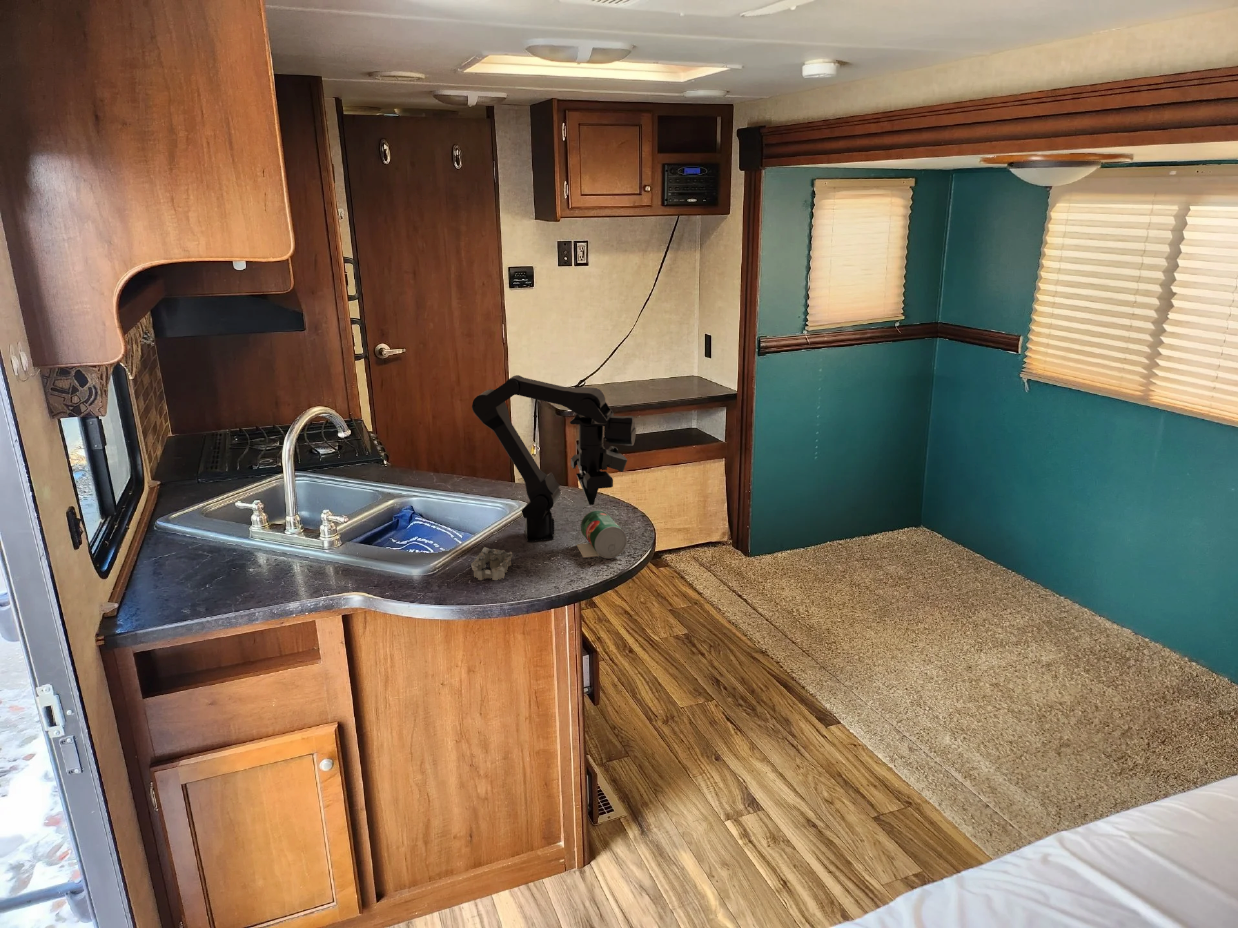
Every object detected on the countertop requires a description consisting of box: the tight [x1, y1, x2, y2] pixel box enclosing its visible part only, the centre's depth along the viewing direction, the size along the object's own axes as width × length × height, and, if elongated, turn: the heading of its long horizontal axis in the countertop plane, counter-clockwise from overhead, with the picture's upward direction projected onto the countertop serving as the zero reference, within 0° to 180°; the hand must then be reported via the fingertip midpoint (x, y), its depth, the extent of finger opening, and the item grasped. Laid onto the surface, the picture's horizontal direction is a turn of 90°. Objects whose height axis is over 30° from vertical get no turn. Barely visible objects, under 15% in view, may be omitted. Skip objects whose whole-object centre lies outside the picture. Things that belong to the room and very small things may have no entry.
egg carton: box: [471, 547, 513, 581], centre depth 186 cm, size 11×8×4 cm
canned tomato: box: [579, 509, 628, 559], centre depth 197 cm, size 8×8×11 cm
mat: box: [576, 542, 601, 558], centre depth 198 cm, size 8×7×1 cm
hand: (591, 504), depth 200 cm, fingers closed
